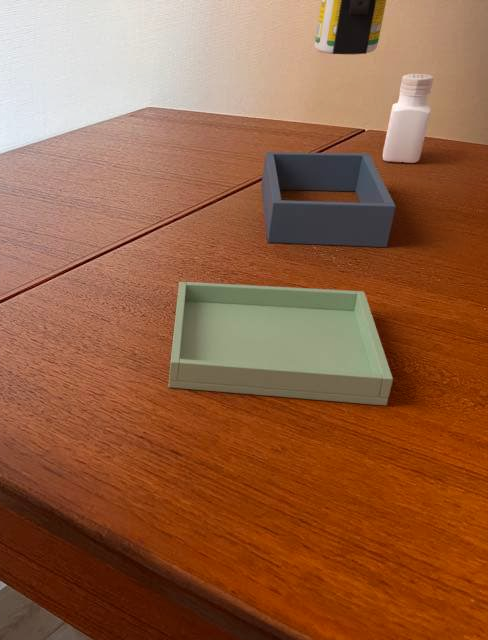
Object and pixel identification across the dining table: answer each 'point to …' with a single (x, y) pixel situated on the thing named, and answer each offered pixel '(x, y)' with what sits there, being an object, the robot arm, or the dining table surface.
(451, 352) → the dining table surface
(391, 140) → the salt shaker
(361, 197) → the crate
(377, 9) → the supplement bottle
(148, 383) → the dining table surface
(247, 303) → the tray
